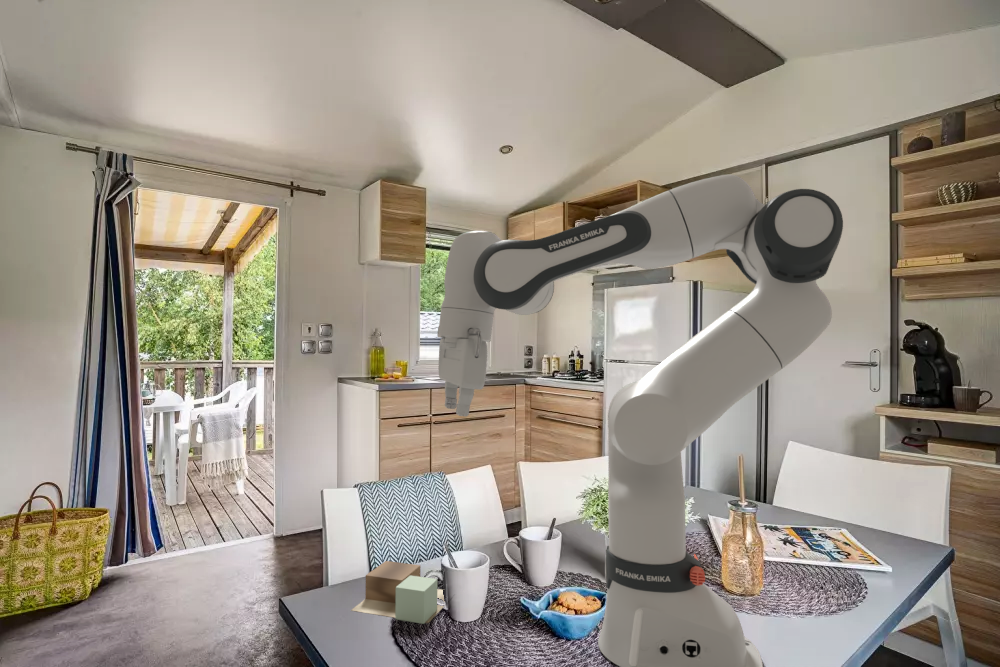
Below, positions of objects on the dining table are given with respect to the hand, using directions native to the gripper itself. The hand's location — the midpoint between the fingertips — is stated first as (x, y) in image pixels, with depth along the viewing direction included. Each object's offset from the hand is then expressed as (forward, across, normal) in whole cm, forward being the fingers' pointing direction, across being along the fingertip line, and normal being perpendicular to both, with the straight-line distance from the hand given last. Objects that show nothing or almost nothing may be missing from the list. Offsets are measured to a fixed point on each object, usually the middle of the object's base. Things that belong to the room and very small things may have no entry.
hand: (455, 411), depth 91 cm
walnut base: (+34, +9, +5) cm, 35 cm away
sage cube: (+33, 0, +2) cm, 33 cm away
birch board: (+34, +6, +3) cm, 35 cm away
